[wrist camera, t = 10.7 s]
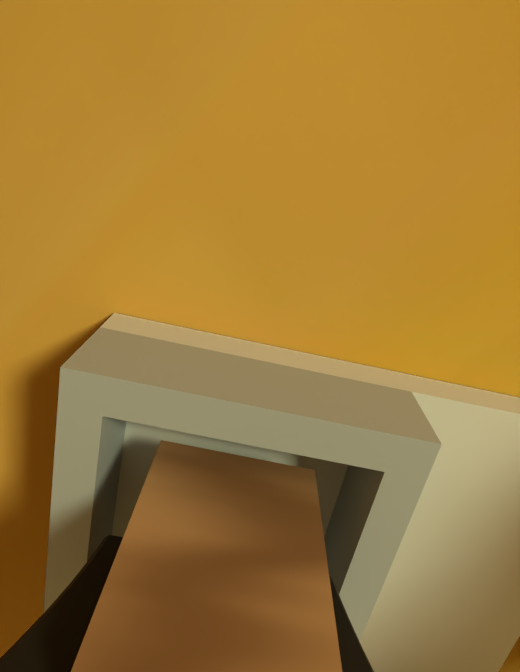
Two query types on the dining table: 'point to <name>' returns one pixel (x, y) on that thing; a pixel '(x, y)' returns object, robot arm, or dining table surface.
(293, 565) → the walnut block
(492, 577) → the chassis
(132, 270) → the dining table surface
